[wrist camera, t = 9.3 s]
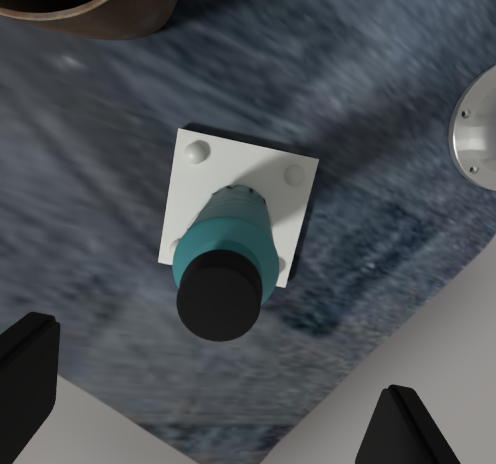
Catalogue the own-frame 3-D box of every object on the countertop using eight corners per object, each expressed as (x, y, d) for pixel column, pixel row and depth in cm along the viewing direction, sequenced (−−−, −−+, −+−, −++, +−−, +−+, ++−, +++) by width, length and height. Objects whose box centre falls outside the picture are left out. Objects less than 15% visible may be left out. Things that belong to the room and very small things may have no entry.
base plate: (316, 158, 34) (320, 159, 32) (284, 283, 37) (285, 289, 36) (180, 128, 33) (177, 128, 31) (161, 258, 37) (156, 264, 35)
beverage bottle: (276, 190, 33) (312, 257, 14) (258, 250, 35) (267, 384, 16) (214, 172, 33) (162, 215, 14) (198, 234, 35) (132, 351, 15)
